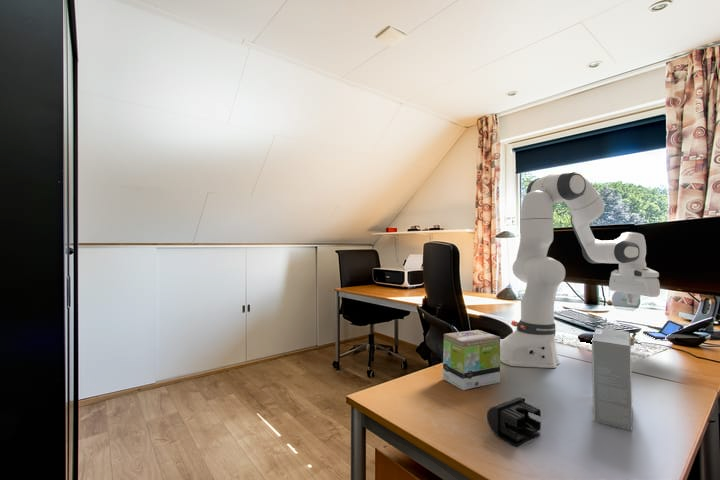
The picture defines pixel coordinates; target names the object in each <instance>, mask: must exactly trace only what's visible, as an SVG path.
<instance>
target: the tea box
mask: <svg viewBox="0 0 720 480" xmlns="http://www.w3.org/2000/svg"><path fill="white" fill-rule="evenodd" d="M442 346H443V349H442V351H443V353H442V355H443V356H442V357H443V358H442V379H443V380H445V381H446V382H447V383H449V384H451V385H453V386H454V387H456V388H459V389H460V390H461V391H467V390H471V389H473V388H480V387H485V386H488V385H495V384H498V383H500V381H501V361H500V346H501V336H498V335H495V334H492V333H489V332H486V331H483V330H479V329H474V330H467V331H466V330H465V331H457V332H449V333H443V345H442Z"/></svg>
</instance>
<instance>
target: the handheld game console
mask: <svg viewBox="0 0 720 480" xmlns="http://www.w3.org/2000/svg"><path fill="white" fill-rule="evenodd" d="M680 329H682V330H684V325H683V324H680V323H677V322H675V321H672V320H666V322H665V324H664V325H663V326H662V328H660V330H658V331H646V330H645V331H642V334H644V335H646V334H647V335H646V336H648V335H649V336H648V337H650V336H651V337H653V338H655V339H654V340H656V339H665V337H666V336H667V335H669V334H672V333H673V332H675V331H677V330H680ZM651 337H650V338H651ZM653 338H652V339H653Z"/></svg>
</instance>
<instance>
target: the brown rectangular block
mask: <svg viewBox="0 0 720 480" xmlns="http://www.w3.org/2000/svg"><path fill="white" fill-rule="evenodd" d="M630 341H631V346H634V341H635V338H634V337H631V336H630Z"/></svg>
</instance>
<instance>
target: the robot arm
mask: <svg viewBox="0 0 720 480" xmlns="http://www.w3.org/2000/svg"><path fill="white" fill-rule="evenodd" d="M525 192H526V193H525V195H524V196H523V198H522V201H521V206H520V207H521V208H520V224H519V225H520V227H519V228H520V236H519V237H520V239H519V245H518V249H517V250H518V251H517V253H516V258H515V261H514V262H513V264H512V273H513V275H514V276H515V277H516V278H517V279H518V280H520V281H521V282H523V283H526V286H525V291H524V294H523V296H522V297H521V299H520V319H519V321H516V320H511V322H510V325H512V326H513V327H515V328H516V330H514V331H513V332H511V333H510V334H509V335H507V336H506V337H504V338H503V339H502V340H501V341H500V363H503V364H505V365H507V366H511V367H526V368H541V369H542V368H546V369H547V368H548V369H549V368H550V369H556V367H557V366H558V365H559V364H560V359H559V356H558V351H557V345H556V342H555V333H556V331H557V329H556V323H555V302H556V301H555V299H556V296H557V292H558V289H559V286H560V285H561V284H562V283H563V281H564V280H565V277H566V268H565V266H564V265H563V264H562V263H561V262H560V261H559V260H556V259H554V258H553V257H550V256H548V251H549V248H550V246H551V244H552V243H553V241H554V209H553V206H554V204H558V203H562V202H565V204H566V206H567V207H568V209H569V211H570V213H571V216H570V219H569V221H570V225H571V227H572V229H573V232H574V234H575V236H576V239H577V241H578V243H579V245H580V247H581V252H582V256H583V258H584V259H585V260H586V262H588V263H590V264H618V269H614V270H612V271H611V272H610V277H609V282H608V283H609V284H608V287H609V290H610V291H613V292H618V293H619V292H620V293H624V296H625V299H626V300H627V304H628V305H632V306H638V305H639V302H638V301H640V298H641V296H642V297H643V296H644V297H650V298H657V297H659V296H660V294H661V284H660V280H659V277H660V273H659V272H658V271H656V270H654V269H651V268H649V267H647V262H646V255H647V244H646V239H645V235H644V234H642V233H640V232H635V231H634V232H633V231H625V232H622V233H620V236H618V237H617V238H614V239H613V240H612V239H610V240H606V239H605V240H600V239H597V238H595V236H594V234H593V231H592V229H591V227H590V224H591V223H593V222H594V221H596V220H597V219H599V218H600V217H601V216H602V214H603V213H604V211H605V208H606V207H605V203H604V200H603V199H602V197H601V196H600V194H599V193H598V191H597V189H596V188H595V187H594V186H593V185H592V183H591V182H590V181H589V180H588V179H586V177H584V176H583V175H582V174H581V173H580V172H577V171H572V170H571V171H564V172H559V173H552V174H548V175H545V176H542V177H538V178H536V179H533V180H532V181H530V183H528V185H527V187H526V191H525Z"/></svg>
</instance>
